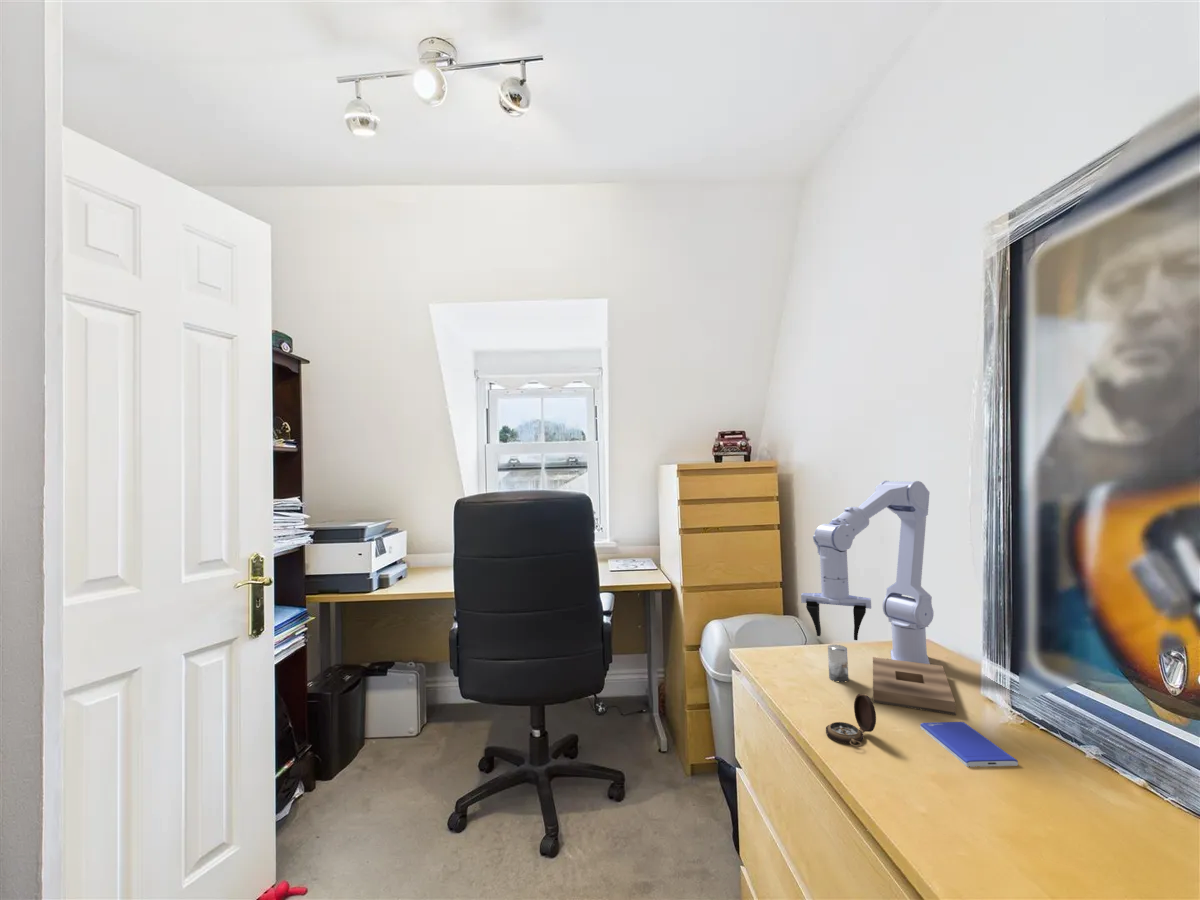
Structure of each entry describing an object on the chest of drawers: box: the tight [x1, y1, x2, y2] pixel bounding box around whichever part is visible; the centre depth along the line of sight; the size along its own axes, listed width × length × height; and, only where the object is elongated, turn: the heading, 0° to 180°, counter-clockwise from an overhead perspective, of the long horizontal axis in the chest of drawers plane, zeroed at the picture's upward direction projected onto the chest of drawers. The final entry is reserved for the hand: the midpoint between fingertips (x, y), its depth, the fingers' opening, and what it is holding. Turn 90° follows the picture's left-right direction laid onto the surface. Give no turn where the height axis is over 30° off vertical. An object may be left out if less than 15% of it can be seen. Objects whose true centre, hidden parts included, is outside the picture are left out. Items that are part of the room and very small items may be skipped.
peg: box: [827, 644, 849, 683], centre depth 119 cm, size 4×4×7 cm
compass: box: [825, 693, 877, 747], centre depth 93 cm, size 8×8×7 cm
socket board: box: [872, 656, 957, 716], centre depth 112 cm, size 20×14×2 cm
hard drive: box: [919, 721, 1019, 768], centre depth 89 cm, size 2×8×12 cm
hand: (837, 636), depth 119 cm, fingers open, 7 cm apart
